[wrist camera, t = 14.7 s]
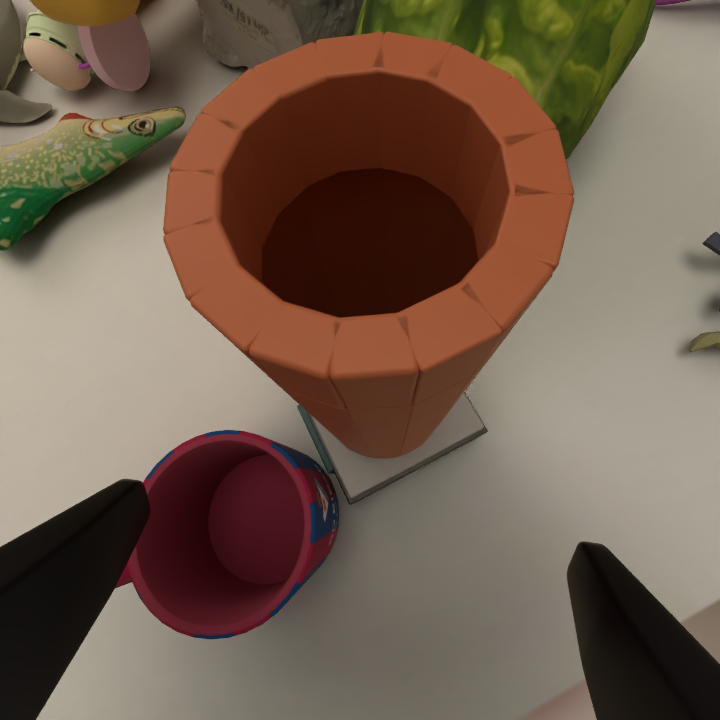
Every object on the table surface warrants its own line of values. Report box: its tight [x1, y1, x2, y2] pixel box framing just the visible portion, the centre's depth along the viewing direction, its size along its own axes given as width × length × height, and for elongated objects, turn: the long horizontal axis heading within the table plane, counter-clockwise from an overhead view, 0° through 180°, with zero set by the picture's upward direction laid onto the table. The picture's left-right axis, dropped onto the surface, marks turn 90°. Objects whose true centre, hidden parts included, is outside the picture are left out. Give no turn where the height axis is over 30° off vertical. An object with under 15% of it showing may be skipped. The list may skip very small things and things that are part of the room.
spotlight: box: [23, 8, 150, 91], centre depth 29 cm, size 12×8×8 cm
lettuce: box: [354, 0, 656, 159], centre depth 21 cm, size 14×23×13 cm, turn 157°
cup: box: [115, 430, 339, 639], centre depth 18 cm, size 7×10×7 cm
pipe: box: [163, 32, 574, 458], centre depth 12 cm, size 5×5×14 cm
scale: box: [298, 392, 488, 504], centre depth 20 cm, size 7×7×3 cm
